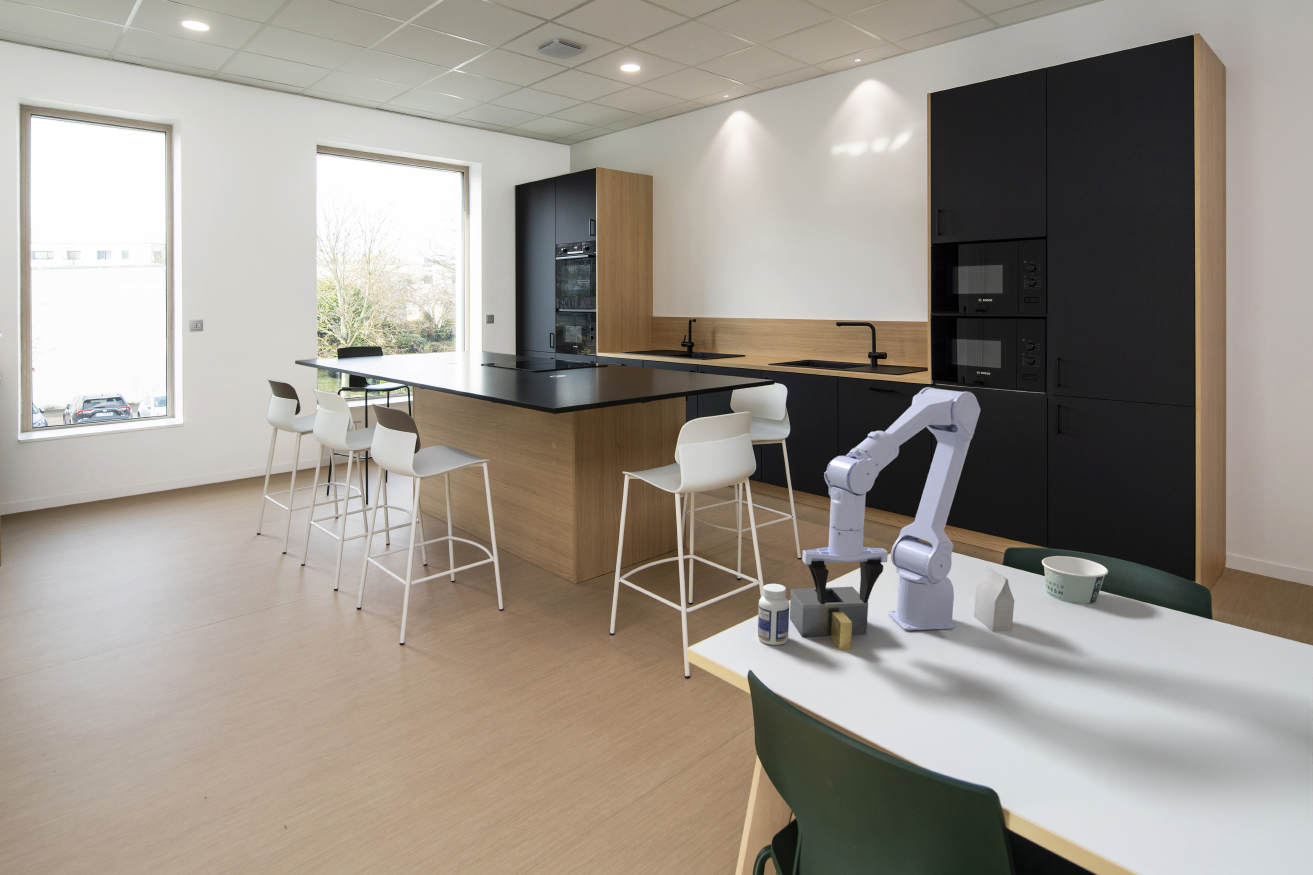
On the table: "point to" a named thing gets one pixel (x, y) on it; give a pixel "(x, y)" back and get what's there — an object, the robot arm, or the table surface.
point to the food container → (1073, 579)
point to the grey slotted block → (826, 610)
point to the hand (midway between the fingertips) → (842, 601)
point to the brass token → (841, 630)
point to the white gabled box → (994, 602)
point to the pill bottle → (773, 615)
